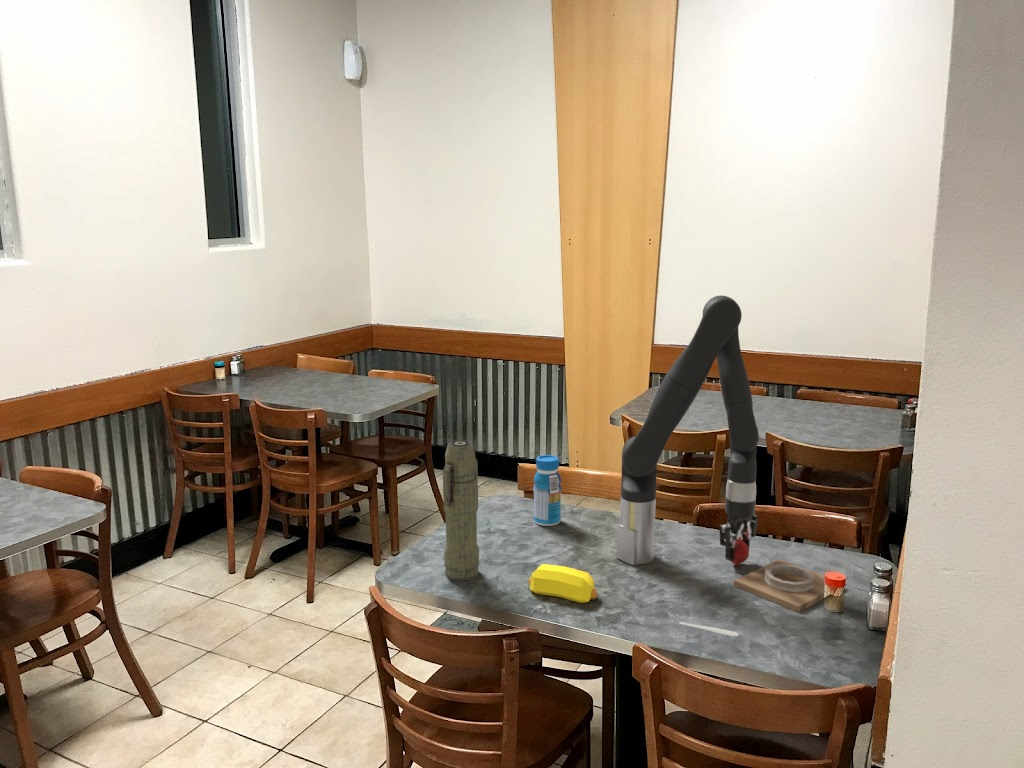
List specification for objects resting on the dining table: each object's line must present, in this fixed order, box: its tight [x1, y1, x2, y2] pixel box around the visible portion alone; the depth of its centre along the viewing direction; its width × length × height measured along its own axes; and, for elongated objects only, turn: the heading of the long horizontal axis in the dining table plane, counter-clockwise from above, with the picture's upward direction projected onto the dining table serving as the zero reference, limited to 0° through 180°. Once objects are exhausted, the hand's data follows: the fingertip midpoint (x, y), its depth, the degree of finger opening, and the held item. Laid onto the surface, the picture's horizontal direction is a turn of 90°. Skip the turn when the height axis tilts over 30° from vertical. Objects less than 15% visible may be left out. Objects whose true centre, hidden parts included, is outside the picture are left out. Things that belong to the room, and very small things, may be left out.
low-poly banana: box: [528, 563, 598, 604], centre depth 199 cm, size 18×7×8 cm
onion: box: [730, 536, 750, 566], centre depth 215 cm, size 6×6×8 cm
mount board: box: [733, 558, 825, 614], centre depth 203 cm, size 20×18×4 cm
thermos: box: [442, 439, 480, 582], centre depth 207 cm, size 9×12×35 cm
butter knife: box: [679, 621, 740, 637], centre depth 185 cm, size 1×27×3 cm
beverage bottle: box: [532, 454, 562, 527], centre depth 244 cm, size 8×8×20 cm
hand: (737, 556), depth 215 cm, fingers closed on onion, 6 cm apart
